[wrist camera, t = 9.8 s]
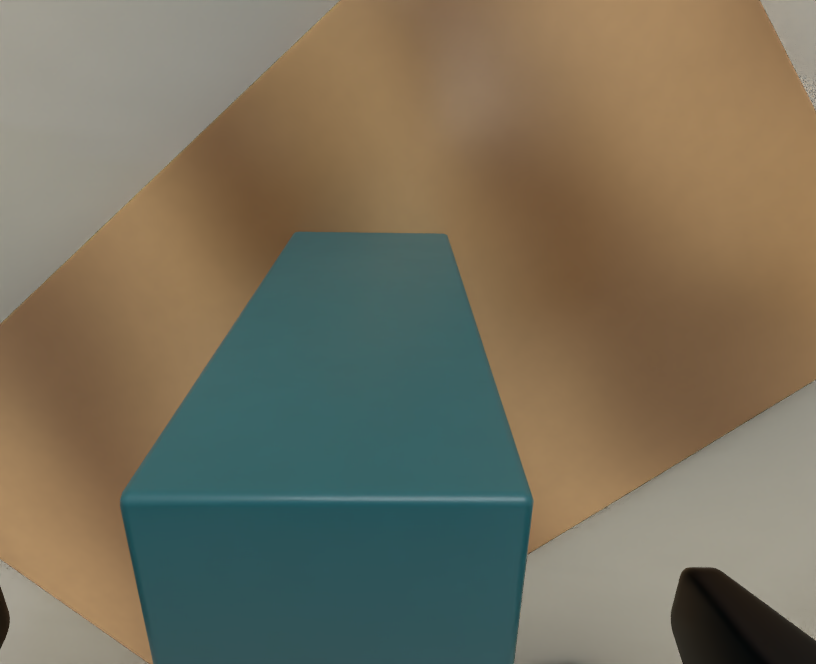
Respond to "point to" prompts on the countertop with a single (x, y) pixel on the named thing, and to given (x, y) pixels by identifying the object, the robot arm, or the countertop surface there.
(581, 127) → the wooden board
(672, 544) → the countertop surface
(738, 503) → the countertop surface
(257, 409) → the letter H
